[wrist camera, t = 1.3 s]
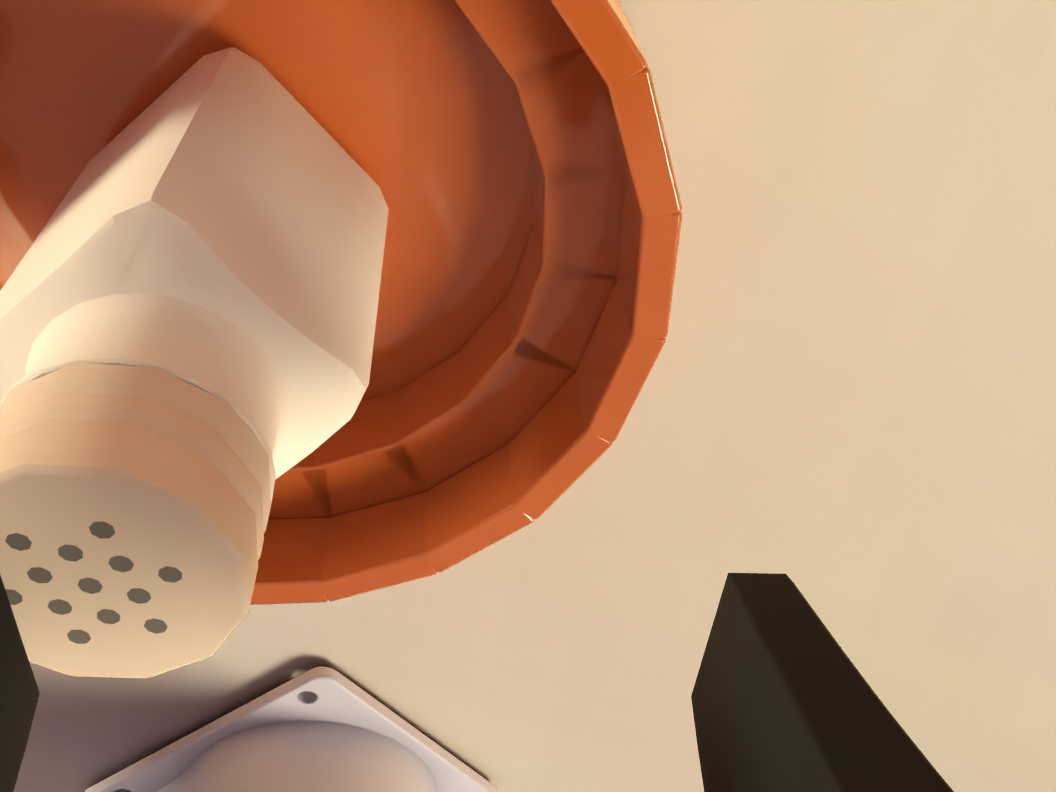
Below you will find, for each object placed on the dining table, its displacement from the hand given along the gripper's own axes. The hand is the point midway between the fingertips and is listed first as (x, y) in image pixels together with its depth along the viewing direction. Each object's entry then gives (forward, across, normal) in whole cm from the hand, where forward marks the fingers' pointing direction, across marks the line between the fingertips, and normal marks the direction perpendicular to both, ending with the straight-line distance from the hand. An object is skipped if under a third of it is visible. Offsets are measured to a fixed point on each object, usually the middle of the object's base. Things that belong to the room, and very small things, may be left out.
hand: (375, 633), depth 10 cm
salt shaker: (+10, +3, 0) cm, 11 cm away
